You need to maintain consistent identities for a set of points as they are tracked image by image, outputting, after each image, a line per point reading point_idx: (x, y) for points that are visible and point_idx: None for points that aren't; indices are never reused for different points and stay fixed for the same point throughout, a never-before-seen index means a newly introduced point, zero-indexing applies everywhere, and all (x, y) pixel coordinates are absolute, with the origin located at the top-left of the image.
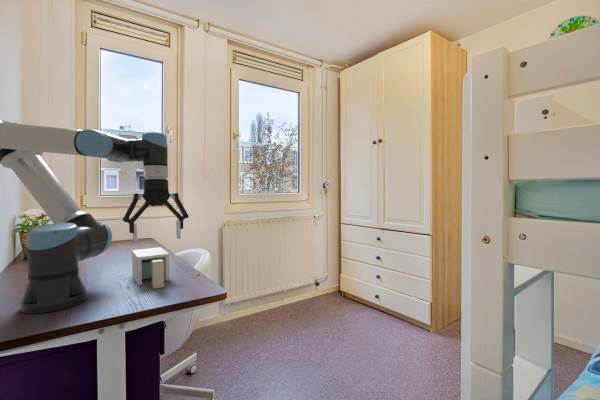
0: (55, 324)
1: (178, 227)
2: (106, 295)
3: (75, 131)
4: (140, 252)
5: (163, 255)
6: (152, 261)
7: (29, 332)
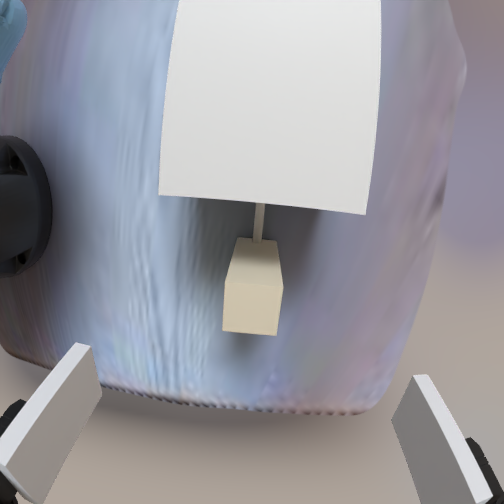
0: (35, 343)
1: (419, 490)
2: (95, 217)
3: None
4: (214, 30)
5: (325, 209)
6: (223, 309)
7: (15, 345)
